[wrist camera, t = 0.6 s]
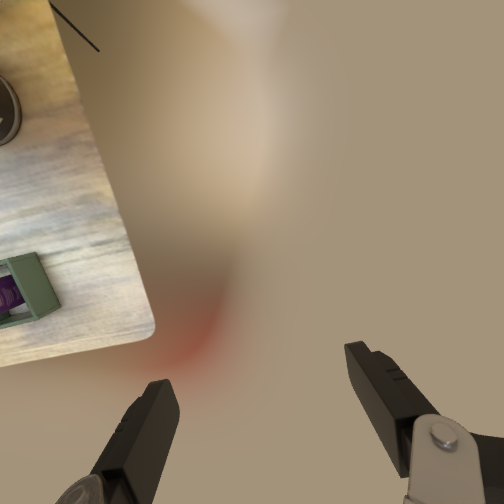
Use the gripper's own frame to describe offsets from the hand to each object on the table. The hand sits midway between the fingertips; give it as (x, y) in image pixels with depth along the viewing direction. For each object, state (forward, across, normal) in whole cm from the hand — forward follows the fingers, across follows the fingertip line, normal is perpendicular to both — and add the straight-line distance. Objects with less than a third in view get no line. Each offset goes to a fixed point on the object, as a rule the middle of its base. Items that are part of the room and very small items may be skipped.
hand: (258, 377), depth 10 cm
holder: (+25, +36, -2) cm, 44 cm away
